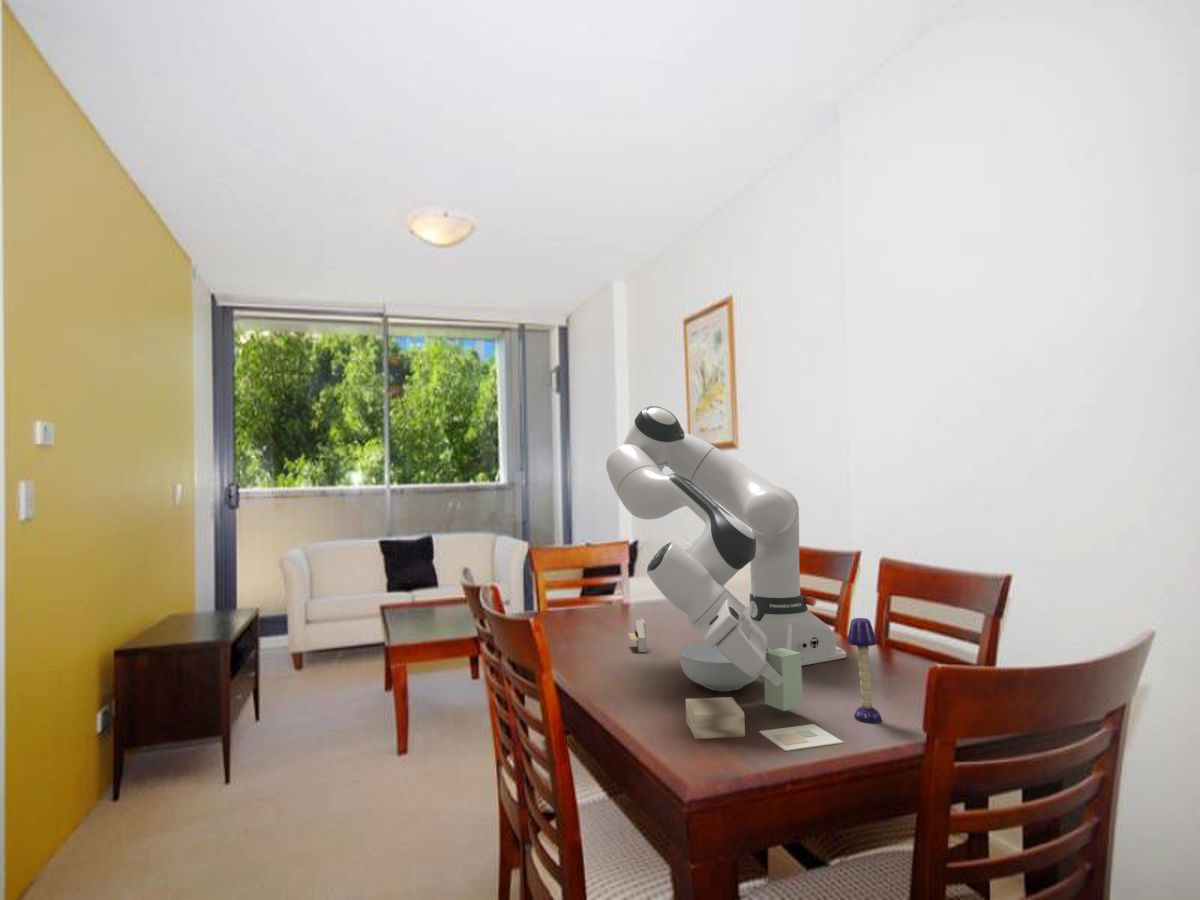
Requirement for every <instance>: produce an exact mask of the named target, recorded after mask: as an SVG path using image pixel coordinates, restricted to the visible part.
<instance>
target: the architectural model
mask: <svg viewBox="0 0 1200 900" xmlns="http://www.w3.org/2000/svg"><path fill="white" fill-rule="evenodd" d="M635 624H636V628H634V632H628V636H629V639H630V640H631V641H632V642H633V641H634V642H635V641H636V644H637V645H636V646H637V651H638V650H639V651H638V653H639V652H646V653H647V631H646V630H647V625H646V621H645V620H644V619H643V618H641V619H640V620H635Z"/></svg>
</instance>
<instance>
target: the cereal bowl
mask: <svg viewBox="0 0 1200 900" xmlns="http://www.w3.org/2000/svg"><path fill="white" fill-rule="evenodd" d="M679 661H680V662H679V663H680V664H681V665H680V666H681V670H682V671H683V673H684V674H685V676H686V677H687V678H689V680H691V681H692V682H694V683H696V684H699V685H700V686H703V688H705V687H706V688H705V689H707V688H709V689H708V690H710V689H712V690H711V691H714V690H719V691H718V692H733V691H732V690H734V691H739V690H740V689H742V688H744V686H746V685H749V684H751V683H753V682H754V681H756V680H757V679H758V678H759V677H760V676H761V674H760V673H759V672H758V673H757V674H755V675H754V676H753V677H750V676H748V675H747V674H745V673H744V672H742V671H741V670H740V669H739V668H738V667H736V666H735V665H734V664H733V663H732V662H731V661H730V660H728V659H727V658H726V657H725V656H724V655H723V654H722V653H721V652H720V651H719V650H718V649H717V647H716V646H715V647H714V648H711V647H710V646H709V645H708V644H707V643H706V642H705V640H703V641H698V642H693V643H690V644H686V645H684V646H682V647H681V648H680V649H679Z"/></svg>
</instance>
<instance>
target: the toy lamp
mask: <svg viewBox="0 0 1200 900" xmlns="http://www.w3.org/2000/svg"><path fill="white" fill-rule="evenodd" d="M877 642H878V641H877V637H876V635H875V632H874V628H873V625H872V623H871V621H870V619H868V618H865V617H855V618H854V617H853V618H852V619H851V620H850V625H849V630H848V636H847V643H848V645H851V646H854V647H855V646H856V647H857V648H856V649H857V651H858V653H857V654H858V655H857V658H858V659H857V660H858V669H859V674H858V675H859V679H860V681H859V687H860V696H861V703H860V704H861V706H859V707H858V708H857V709H856V710H855V712H854V718H855V719H856V721H859V722H862V723H866V724H875V723H880V722H881V721H882V716H881V713H880V712H879V710H877V709H876V708H875V707H873V704H874V703H873V700H872V697H873V694H872V692H873V691H872V690H871V689H872V682H871V673H870V669H871V666H870V655H869V647H871V646H875V645H877Z"/></svg>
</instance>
